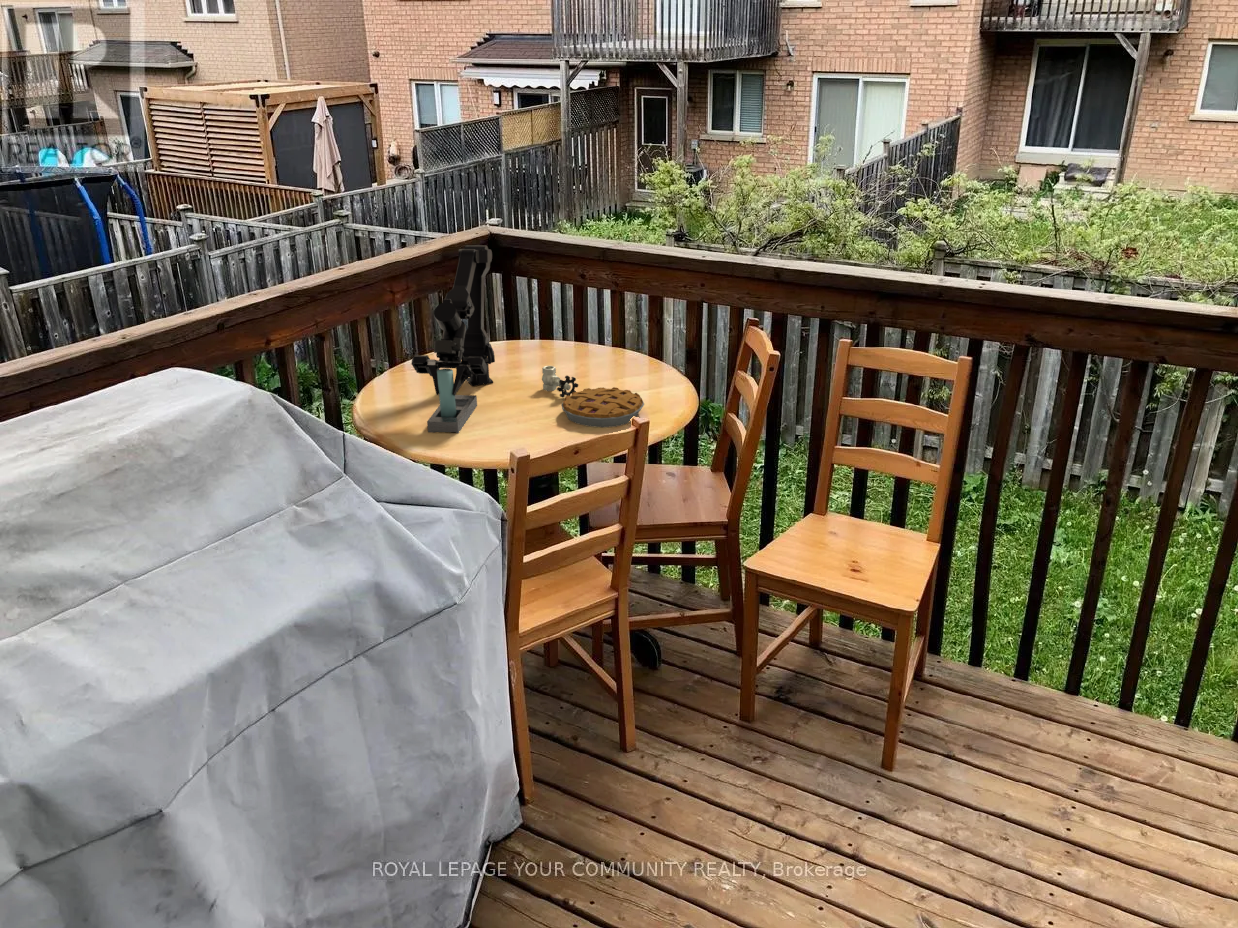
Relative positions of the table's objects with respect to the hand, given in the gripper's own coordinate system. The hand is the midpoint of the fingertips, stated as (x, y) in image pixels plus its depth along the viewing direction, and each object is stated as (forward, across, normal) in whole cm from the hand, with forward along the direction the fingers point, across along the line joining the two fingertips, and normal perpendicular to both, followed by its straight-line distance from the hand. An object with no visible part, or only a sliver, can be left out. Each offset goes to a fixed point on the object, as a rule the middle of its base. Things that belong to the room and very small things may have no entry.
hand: (445, 394), depth 256 cm
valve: (-13, +24, +26) cm, 38 cm away
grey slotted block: (+2, 0, +10) cm, 10 cm away
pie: (-2, +39, +15) cm, 42 cm away
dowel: (+4, 0, +6) cm, 7 cm away
